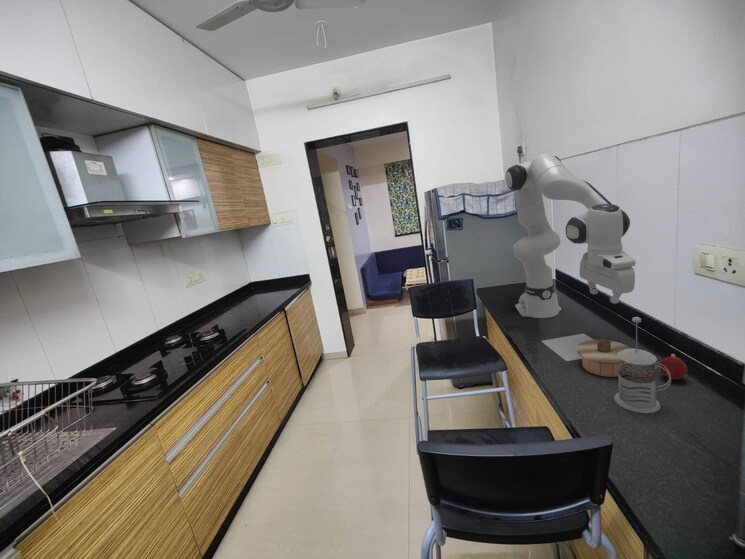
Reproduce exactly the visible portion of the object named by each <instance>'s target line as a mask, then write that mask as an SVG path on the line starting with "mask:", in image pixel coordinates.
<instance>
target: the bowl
mask: <svg viewBox="0 0 745 559" xmlns="http://www.w3.org/2000/svg"><path fill="white" fill-rule="evenodd" d="M581 361H582V362H581V363H582V368H583V369H584V370H586V371H587V372H589V373H591V374H594V375H597V376H601V377H609V378H610V377H611V378H615V377H618V372H619V370H620V366H621V365H623V364H628V363H621V364H603V363H597V362H593V361H590V360H587V359H585V358H583V357H582V359H581Z"/></svg>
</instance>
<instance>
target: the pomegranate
mask: <svg viewBox="0 0 745 559" xmlns="http://www.w3.org/2000/svg"><path fill="white" fill-rule="evenodd" d="M659 363H660V364H662V365H664V366H665V367H667V369H668V370H669V372H670V374H671V380H680V379H682V378H684V377H685V376H687V374H688V366H687V364H686V363H685V362H684V361H683V360H682V359H681V358H679V357H677V356H676V354H674V353H671V354H670V356H667V357H665V358H663V359H662V360H660V362H659ZM660 364H659V366H660V367H662V368H664V369H665V370H666V371H667V369H666V368H665V367H664V366H662V365H660ZM660 367H659V369H660V372H661V373H662V374H663V375H664V376H666V377H667V378H668V379H669V375H668V373H667V372H666V371H665V370H664V369H662V368H660Z"/></svg>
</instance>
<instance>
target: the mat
mask: <svg viewBox="0 0 745 559" xmlns="http://www.w3.org/2000/svg"><path fill="white" fill-rule="evenodd" d="M588 340H595V339H593V338H591V337H590V336H588V335H587V334H585V333H578V334H574V335H573V334H572V335H568V336H561V337H556V338H551V339H545V340H541V342H542V343H543V344H544V345H546V346H547V347H548V348H549V349H551V351H553V352H554V353H556V355H558V356H559V357H560V358H561V359H563V360H564V361H566V362H571V361H576V360H582V357H581V356H580V355H579V354H578V353H577V349H576V348H577V345H578V344H579V343H581V342H584V341H588Z"/></svg>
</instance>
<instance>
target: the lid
mask: <svg viewBox="0 0 745 559" xmlns="http://www.w3.org/2000/svg"><path fill="white" fill-rule="evenodd" d="M576 349H577V353H578V354H579V355H580V356H581V357H583V358H585V359H587V360H590V361H593V362H597V363H603V364H621V363H626V362H623V361H622V360H620V359H619V358H618V355H617V354H618V352H619V351H622V350H625V349H632V348H631V347H630V346H628V345H626V344H624V343H621V342H618V341H614V340H609V339H605V338H600V339H594V340H588V341H584V342H581V343H579V344H578V345H577V348H576Z"/></svg>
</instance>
